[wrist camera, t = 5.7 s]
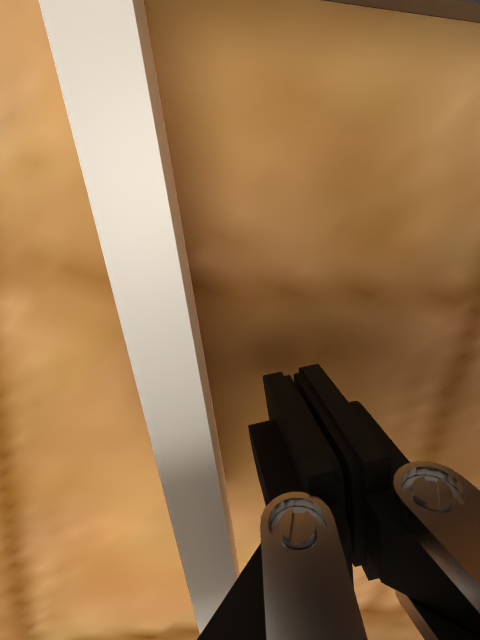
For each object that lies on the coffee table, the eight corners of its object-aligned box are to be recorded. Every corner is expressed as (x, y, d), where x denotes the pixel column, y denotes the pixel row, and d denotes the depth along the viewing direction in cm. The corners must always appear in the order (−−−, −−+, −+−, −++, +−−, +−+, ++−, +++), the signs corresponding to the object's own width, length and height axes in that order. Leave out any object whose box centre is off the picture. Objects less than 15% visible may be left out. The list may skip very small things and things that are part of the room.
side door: (205, 496, 16) (221, 719, 9) (103, -11, 9) (-88, -495, 3) (227, 492, 16) (259, 709, 9) (141, -14, 10) (45, -485, 3)
